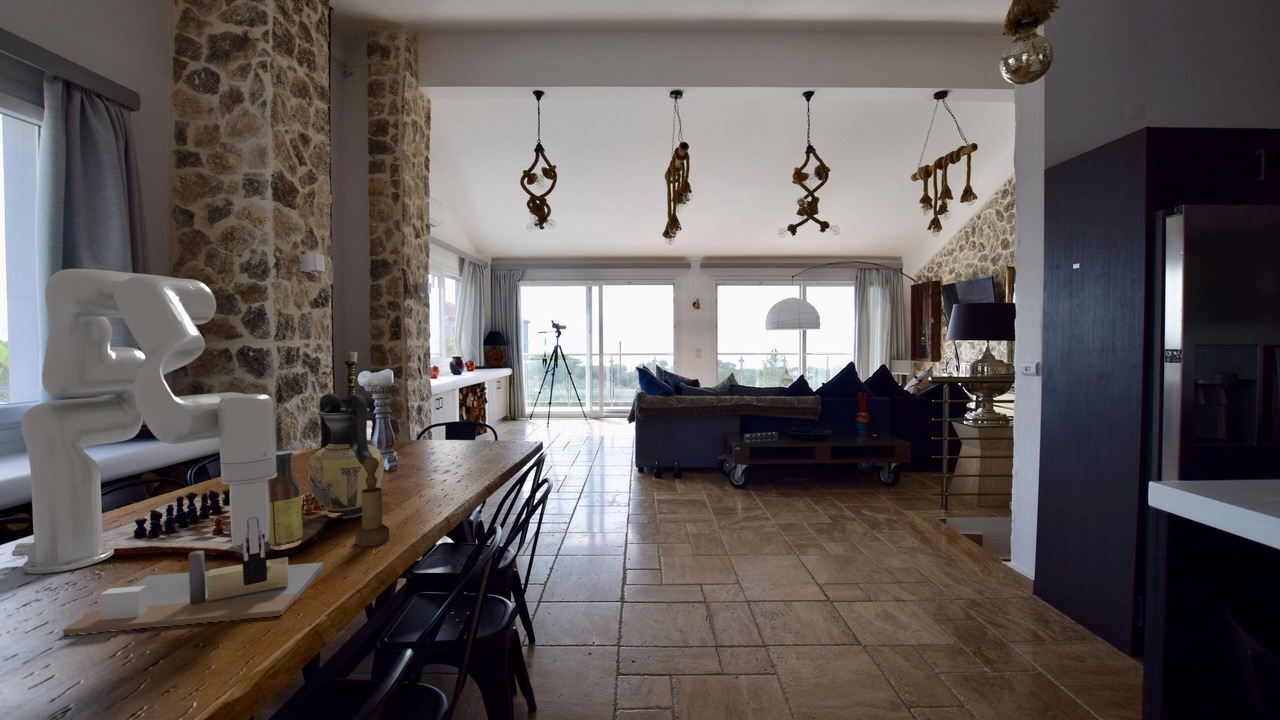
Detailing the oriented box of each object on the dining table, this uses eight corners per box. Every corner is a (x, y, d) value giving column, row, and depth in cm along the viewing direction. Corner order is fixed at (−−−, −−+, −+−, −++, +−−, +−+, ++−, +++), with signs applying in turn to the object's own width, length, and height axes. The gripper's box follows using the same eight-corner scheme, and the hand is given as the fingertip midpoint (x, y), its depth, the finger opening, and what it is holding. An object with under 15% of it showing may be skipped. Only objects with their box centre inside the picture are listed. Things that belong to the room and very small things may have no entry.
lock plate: (63, 636, 84) (60, 575, 84) (147, 581, 104) (145, 531, 103) (282, 616, 90) (280, 559, 90) (323, 567, 109) (322, 520, 109)
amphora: (289, 520, 138) (286, 395, 136) (345, 501, 154) (342, 389, 152) (349, 527, 132) (346, 397, 131) (400, 506, 149) (398, 390, 147)
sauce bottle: (309, 542, 123) (307, 449, 122) (289, 553, 117) (286, 455, 116) (281, 541, 124) (278, 449, 123) (259, 552, 118) (256, 455, 117)
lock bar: (207, 600, 93) (207, 576, 93) (210, 593, 95) (209, 569, 95) (288, 585, 98) (287, 562, 98) (288, 579, 101) (287, 556, 101)
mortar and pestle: (367, 548, 119) (365, 462, 118) (349, 542, 123) (347, 458, 122) (395, 539, 125) (394, 456, 124) (377, 533, 128) (375, 453, 128)
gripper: (221, 466, 98) (227, 573, 98) (220, 482, 86) (227, 604, 86) (273, 460, 102) (279, 563, 103) (279, 474, 90) (285, 590, 90)
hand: (255, 581), depth 94 cm, fingers closed
